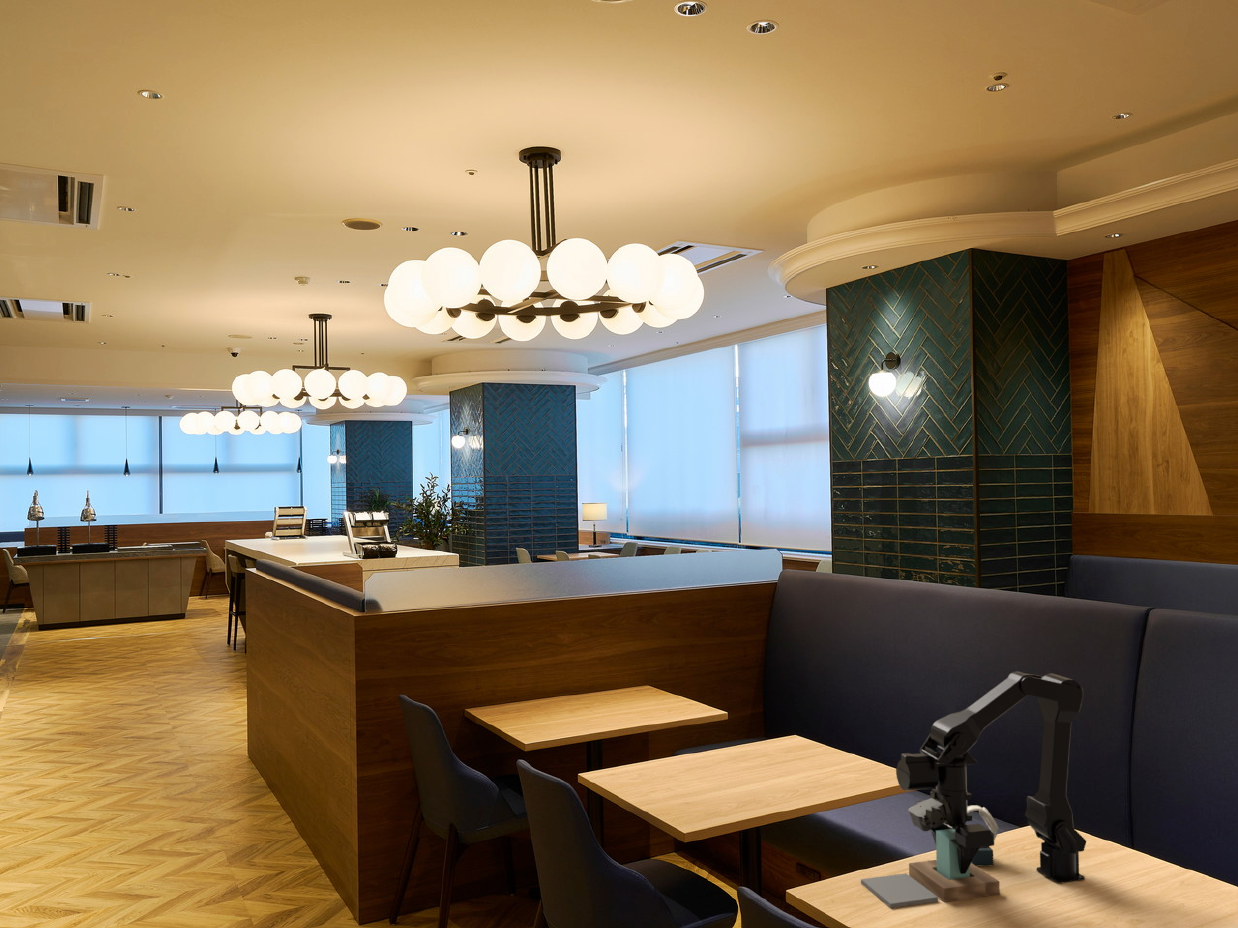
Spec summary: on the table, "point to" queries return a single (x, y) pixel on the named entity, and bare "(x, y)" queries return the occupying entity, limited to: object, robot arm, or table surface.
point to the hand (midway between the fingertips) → (953, 866)
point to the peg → (948, 855)
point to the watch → (986, 853)
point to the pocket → (954, 882)
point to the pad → (899, 890)
